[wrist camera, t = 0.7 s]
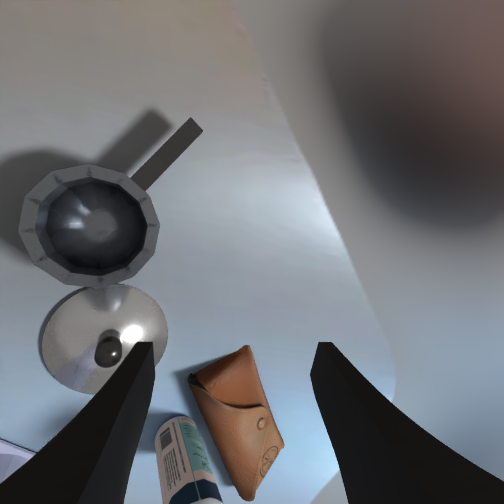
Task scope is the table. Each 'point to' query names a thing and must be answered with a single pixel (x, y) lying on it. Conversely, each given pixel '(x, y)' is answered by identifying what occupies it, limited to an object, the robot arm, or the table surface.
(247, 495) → the sunglasses case
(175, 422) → the white labeled canister
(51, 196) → the saucepan
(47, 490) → the robot arm
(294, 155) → the table surface
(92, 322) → the lid
